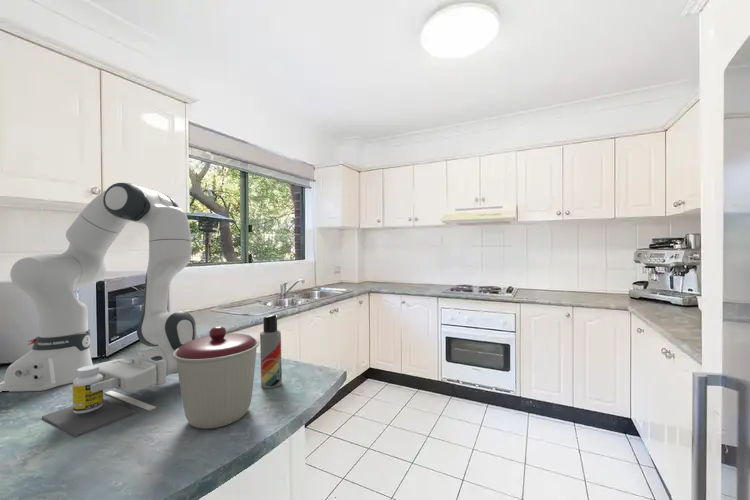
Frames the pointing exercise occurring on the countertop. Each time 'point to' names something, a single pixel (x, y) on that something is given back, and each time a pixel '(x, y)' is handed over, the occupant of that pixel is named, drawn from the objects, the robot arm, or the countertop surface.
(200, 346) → the canister
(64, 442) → the countertop surface
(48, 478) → the countertop surface
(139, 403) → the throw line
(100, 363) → the robot arm
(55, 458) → the countertop surface
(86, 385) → the supplement bottle
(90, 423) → the mat
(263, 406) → the countertop surface
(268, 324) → the lotion bottle
